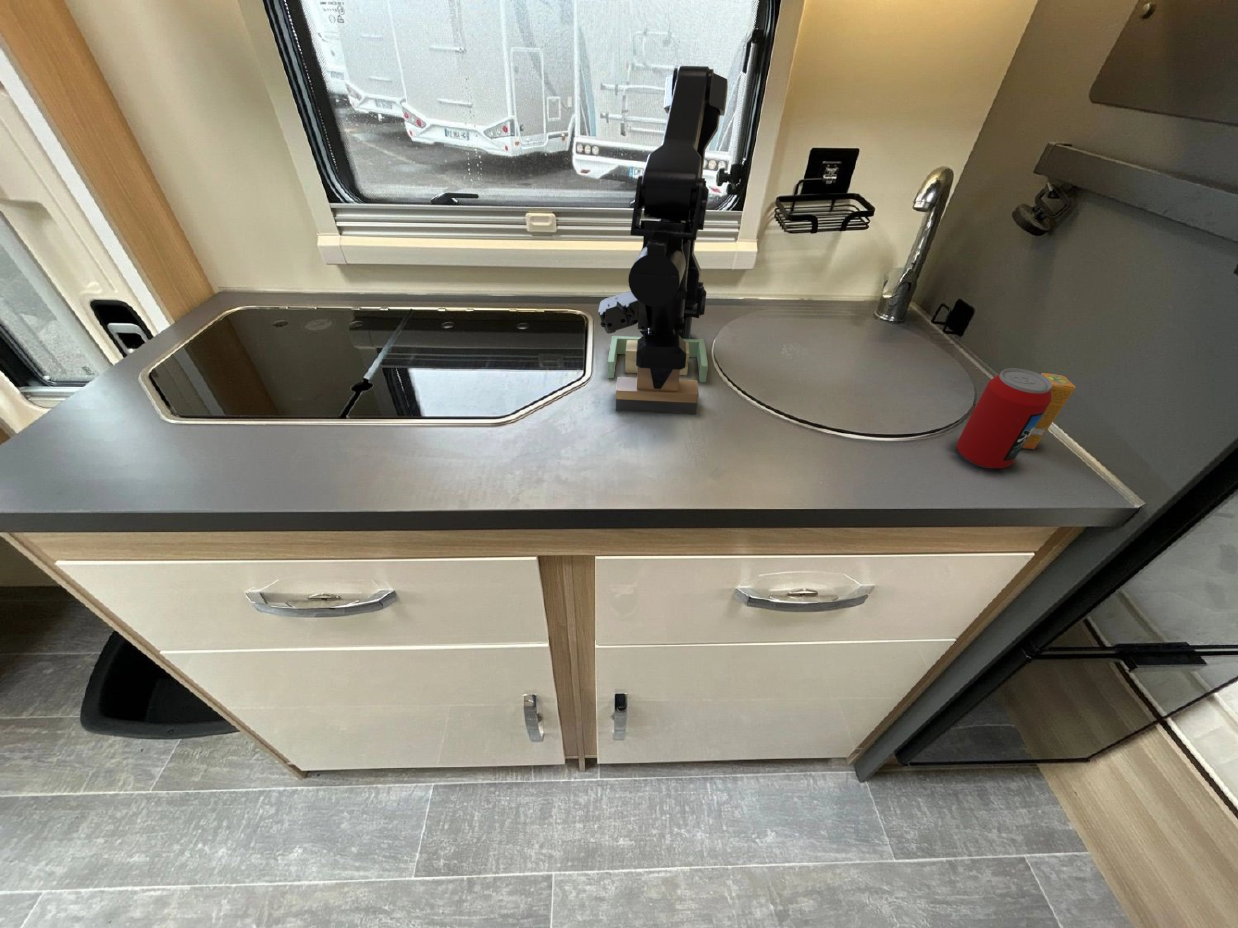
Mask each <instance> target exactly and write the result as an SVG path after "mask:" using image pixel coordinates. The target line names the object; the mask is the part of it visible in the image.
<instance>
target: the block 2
mask: <svg viewBox="0 0 1238 928" xmlns="http://www.w3.org/2000/svg"><path fill="white" fill-rule="evenodd" d="M686 354H687V355H686V365H685V368H684V369H681V370H680V375H679V376H688V371H689V361H690V357H689V343H688V342H686Z"/></svg>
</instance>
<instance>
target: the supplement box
mask: <svg viewBox="0 0 1238 928" xmlns="http://www.w3.org/2000/svg"><path fill="white" fill-rule="evenodd" d="M1040 375H1042V376H1044V377H1046V378H1047V379H1048V380H1049V381H1050V382H1051V383H1052V388H1051V396H1052V400H1051V402H1050V404H1049V405H1048V407H1047V409H1046V410H1045V412H1044V414H1043V415H1042V417H1041V418H1040V420H1039V422H1038V423H1037V425H1036V427H1035V428H1034V430H1033V431H1032V433H1031V435H1030V436H1029V438H1028V439H1027V441H1026V442H1025V444H1024V445H1023V447H1022V449H1026V450H1027V449H1029V450H1035V449H1036V447H1037V446H1038V445H1039V443H1040V441H1041V440H1042V438H1043V437H1044V435H1045V434H1046V432H1047V431H1048V430H1049V428H1050V427H1051V425H1052V424H1053V422H1054V421H1055V419H1056V418H1057V417H1058V415H1059V414H1060V412H1061V411H1062V409H1063V407H1064V406H1065V405H1066V403H1067V402H1068V400H1069V399H1070V397H1071V396H1072V394H1073V392H1074V391H1075V390H1076V389H1077V387H1076V385H1074V383H1072V382H1071V381H1070V380H1069V379H1068V378H1067V377H1066V376H1065V375H1061V374H1055V373H1047V372H1041V373H1040Z"/></svg>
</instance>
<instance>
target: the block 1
mask: <svg viewBox="0 0 1238 928" xmlns="http://www.w3.org/2000/svg"><path fill="white" fill-rule="evenodd" d="M637 341H638V340H627V344H626V354H625V360H624V361H625V364H624V367H625V368H624V373H628V374H637V368H638V366H636V352H637Z"/></svg>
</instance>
